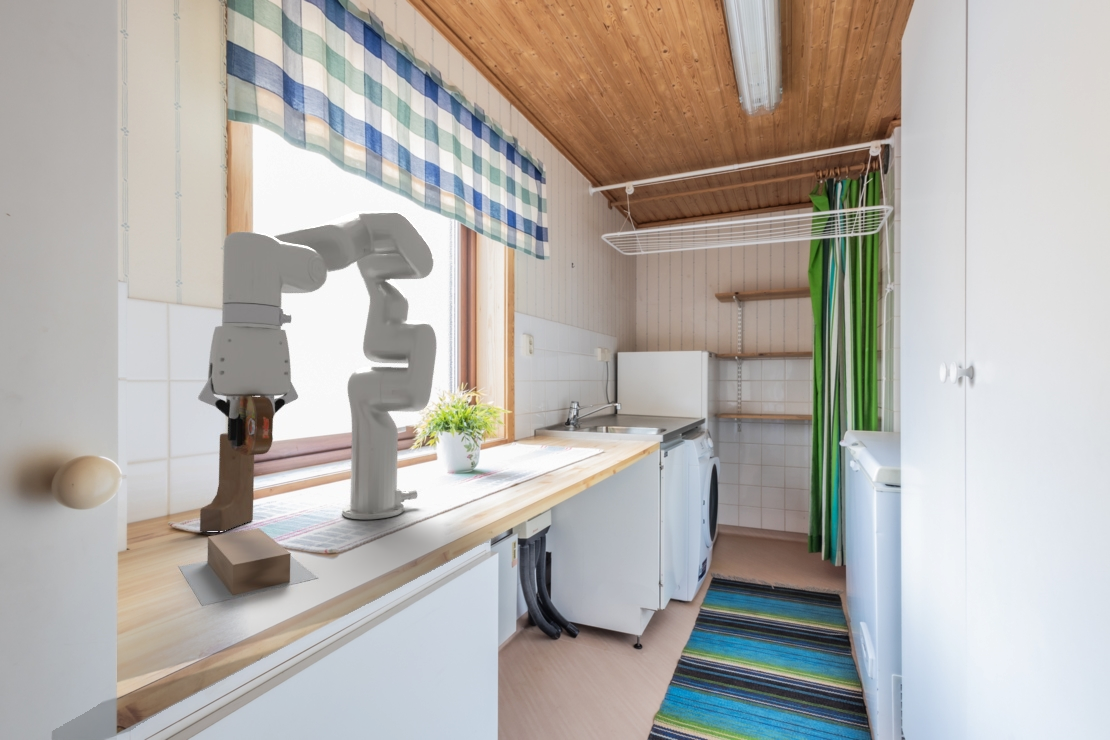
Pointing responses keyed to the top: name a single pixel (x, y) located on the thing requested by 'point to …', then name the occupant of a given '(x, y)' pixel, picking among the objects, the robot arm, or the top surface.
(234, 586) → the base block
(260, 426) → the tin
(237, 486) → the wooden block
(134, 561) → the top surface
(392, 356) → the robot arm
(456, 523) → the top surface
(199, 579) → the plate
